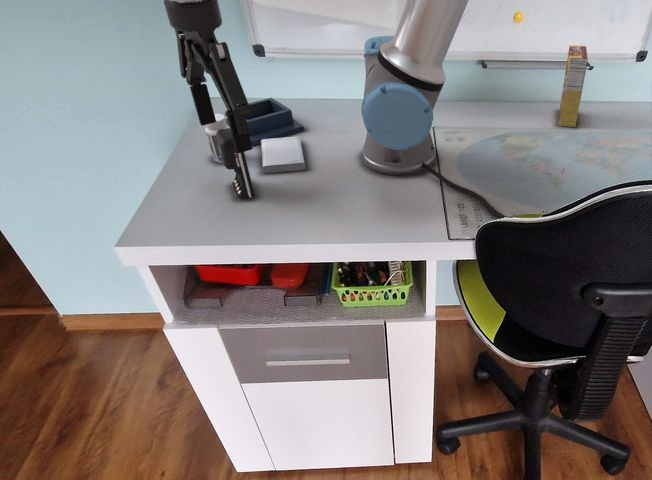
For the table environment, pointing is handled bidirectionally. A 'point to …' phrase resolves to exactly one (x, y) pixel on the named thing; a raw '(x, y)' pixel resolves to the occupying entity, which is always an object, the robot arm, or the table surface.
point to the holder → (269, 121)
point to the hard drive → (282, 154)
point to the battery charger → (235, 164)
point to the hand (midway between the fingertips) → (225, 136)
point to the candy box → (573, 85)
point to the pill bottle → (211, 135)
